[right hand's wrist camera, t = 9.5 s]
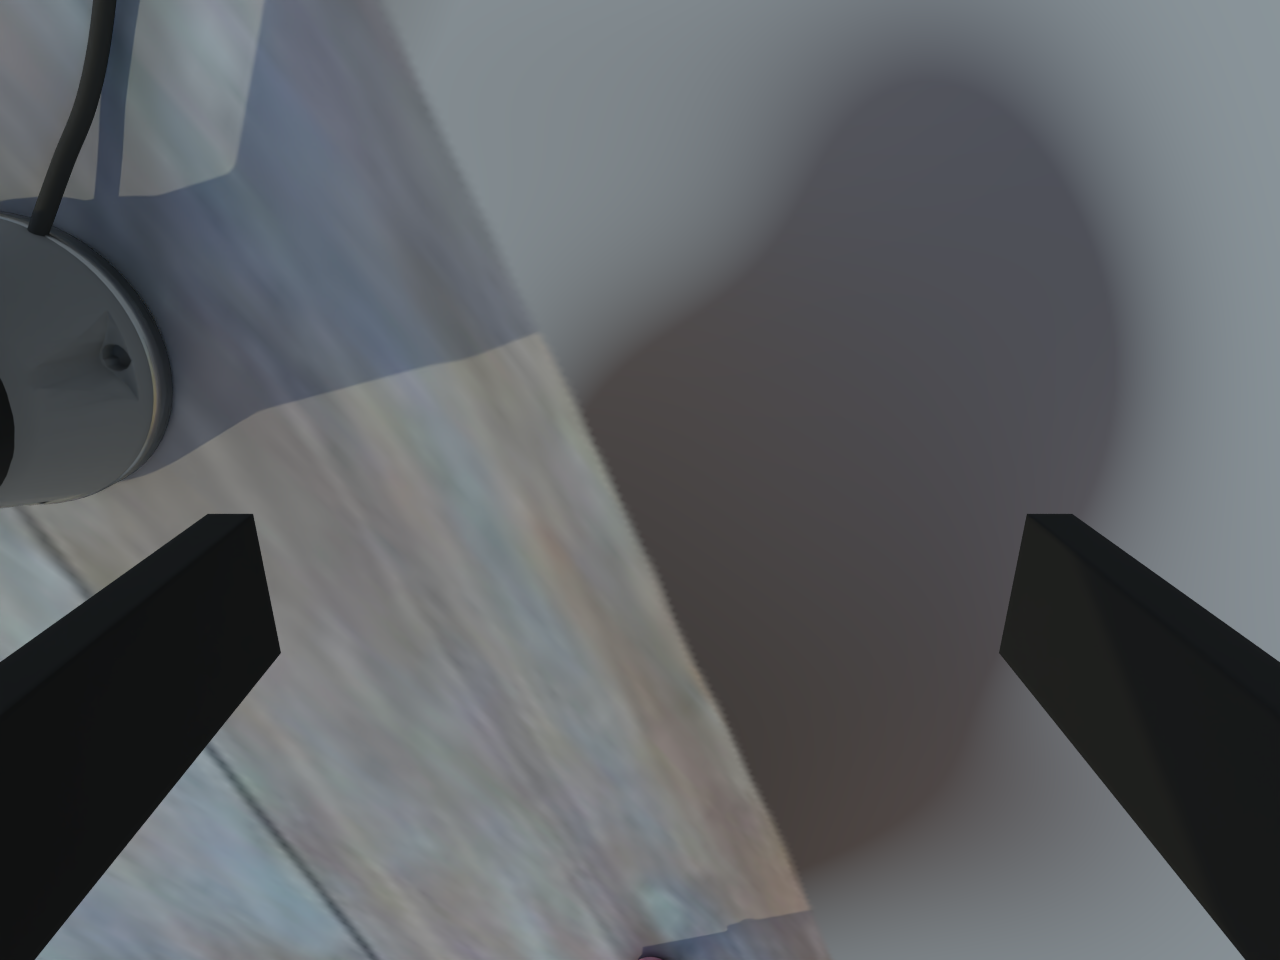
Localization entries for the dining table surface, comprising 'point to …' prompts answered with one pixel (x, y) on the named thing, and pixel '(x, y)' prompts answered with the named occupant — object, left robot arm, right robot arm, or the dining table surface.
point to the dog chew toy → (650, 958)
